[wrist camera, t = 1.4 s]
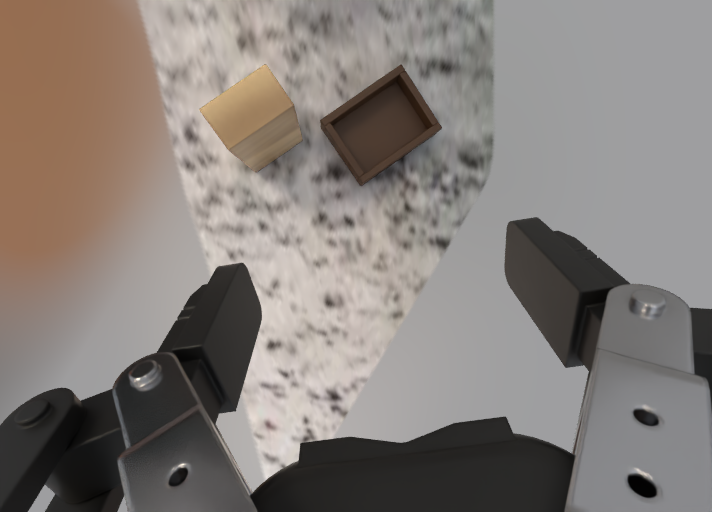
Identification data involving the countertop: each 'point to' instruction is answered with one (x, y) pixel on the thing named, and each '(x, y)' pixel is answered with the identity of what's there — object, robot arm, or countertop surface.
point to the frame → (380, 125)
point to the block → (255, 119)
